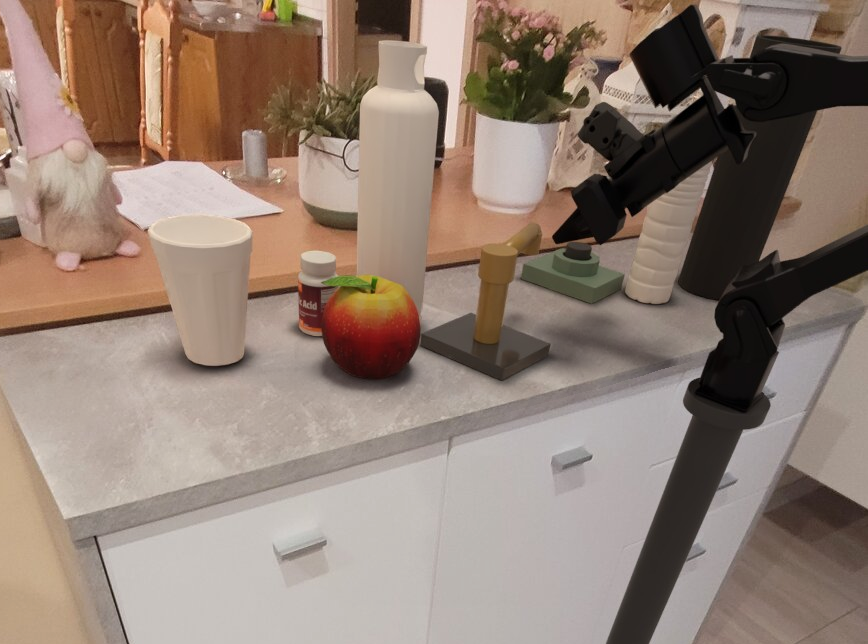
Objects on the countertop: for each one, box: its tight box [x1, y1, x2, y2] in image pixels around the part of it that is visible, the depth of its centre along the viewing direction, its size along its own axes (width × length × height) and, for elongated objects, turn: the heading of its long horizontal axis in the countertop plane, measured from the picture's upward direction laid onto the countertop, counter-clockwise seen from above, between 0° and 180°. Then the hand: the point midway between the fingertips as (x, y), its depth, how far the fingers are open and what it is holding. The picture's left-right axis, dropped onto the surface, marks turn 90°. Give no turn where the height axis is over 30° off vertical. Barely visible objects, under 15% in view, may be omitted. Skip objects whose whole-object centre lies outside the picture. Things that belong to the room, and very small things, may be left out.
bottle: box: [355, 39, 440, 328], centre depth 79 cm, size 8×8×28 cm
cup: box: [147, 213, 254, 367], centre depth 75 cm, size 10×10×13 cm
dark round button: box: [564, 241, 593, 261], centre depth 103 cm, size 4×4×2 cm
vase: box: [677, 34, 842, 301], centre depth 99 cm, size 10×10×30 cm
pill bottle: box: [297, 250, 340, 337], centre depth 84 cm, size 5×5×8 cm
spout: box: [477, 221, 543, 284], centre depth 84 cm, size 16×4×3 cm, turn 155°
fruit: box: [321, 274, 422, 380], centre depth 77 cm, size 11×11×10 cm
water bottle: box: [624, 88, 736, 305], centre depth 96 cm, size 9×6×25 cm
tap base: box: [419, 279, 552, 381], centre depth 83 cm, size 12×10×8 cm
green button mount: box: [520, 247, 626, 304], centre depth 104 cm, size 12×9×4 cm
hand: (554, 239), depth 86 cm, fingers closed
